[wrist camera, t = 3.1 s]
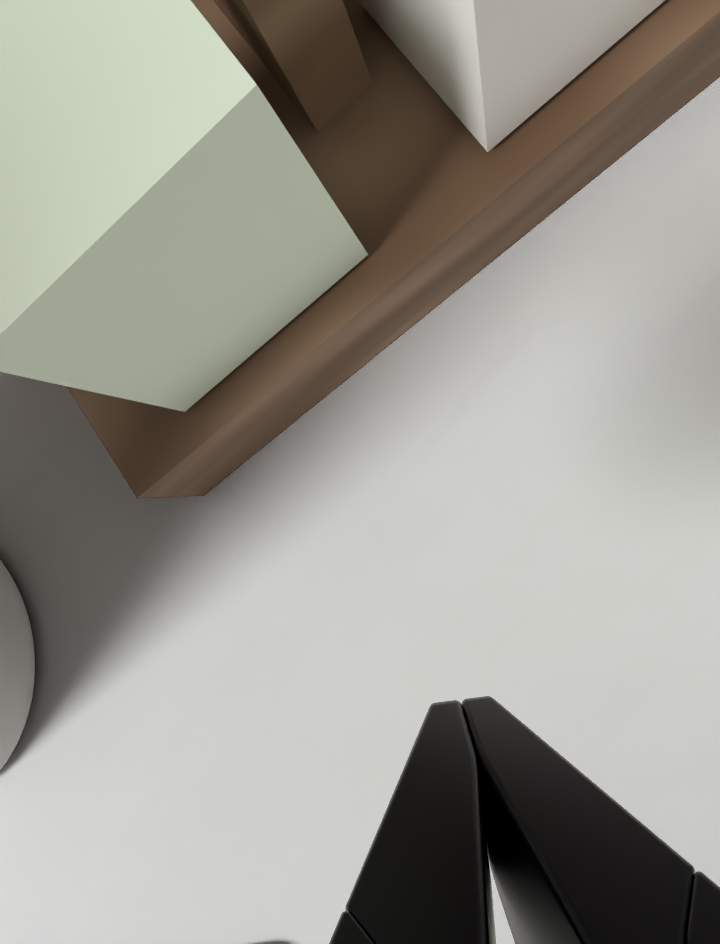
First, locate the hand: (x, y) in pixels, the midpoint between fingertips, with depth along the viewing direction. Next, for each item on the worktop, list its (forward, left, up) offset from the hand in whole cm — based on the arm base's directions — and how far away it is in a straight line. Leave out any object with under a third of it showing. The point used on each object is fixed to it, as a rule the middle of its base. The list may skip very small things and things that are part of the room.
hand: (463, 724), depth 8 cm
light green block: (+8, -9, -7) cm, 15 cm away
